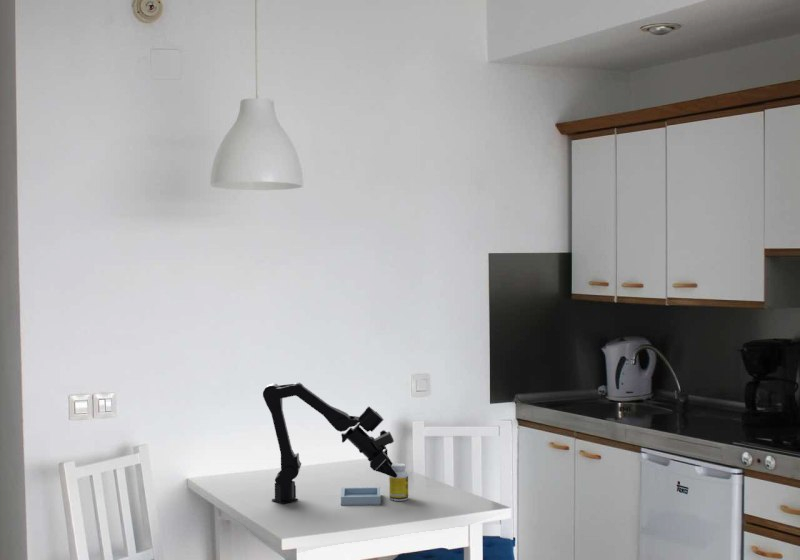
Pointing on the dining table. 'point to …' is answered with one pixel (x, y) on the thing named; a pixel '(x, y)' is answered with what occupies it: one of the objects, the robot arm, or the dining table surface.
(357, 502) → the dish
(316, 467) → the dining table surface
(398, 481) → the pill bottle
